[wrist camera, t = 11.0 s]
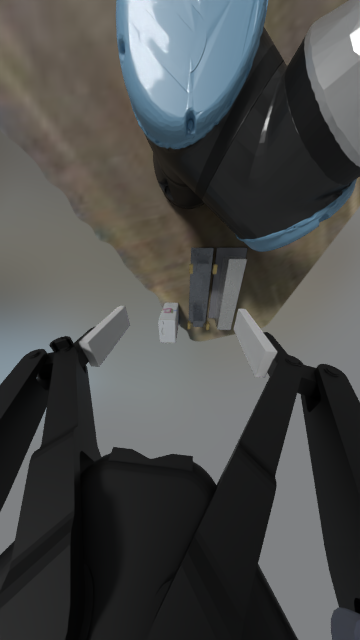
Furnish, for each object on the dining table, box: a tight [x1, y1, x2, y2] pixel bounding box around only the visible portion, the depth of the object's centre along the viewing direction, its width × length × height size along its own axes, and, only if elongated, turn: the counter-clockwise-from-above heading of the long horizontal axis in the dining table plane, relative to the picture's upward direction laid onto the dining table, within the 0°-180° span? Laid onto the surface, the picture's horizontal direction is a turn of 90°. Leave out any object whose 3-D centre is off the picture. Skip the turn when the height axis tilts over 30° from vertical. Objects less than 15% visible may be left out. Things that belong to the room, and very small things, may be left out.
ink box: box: [158, 303, 179, 343], centre depth 43 cm, size 8×5×12 cm, turn 0°
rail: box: [214, 256, 247, 330], centre depth 39 cm, size 20×4×7 cm, turn 0°
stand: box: [188, 248, 218, 330], centre depth 39 cm, size 24×6×10 cm, turn 0°
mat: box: [208, 248, 248, 318], centre depth 42 cm, size 22×8×1 cm, turn 0°
